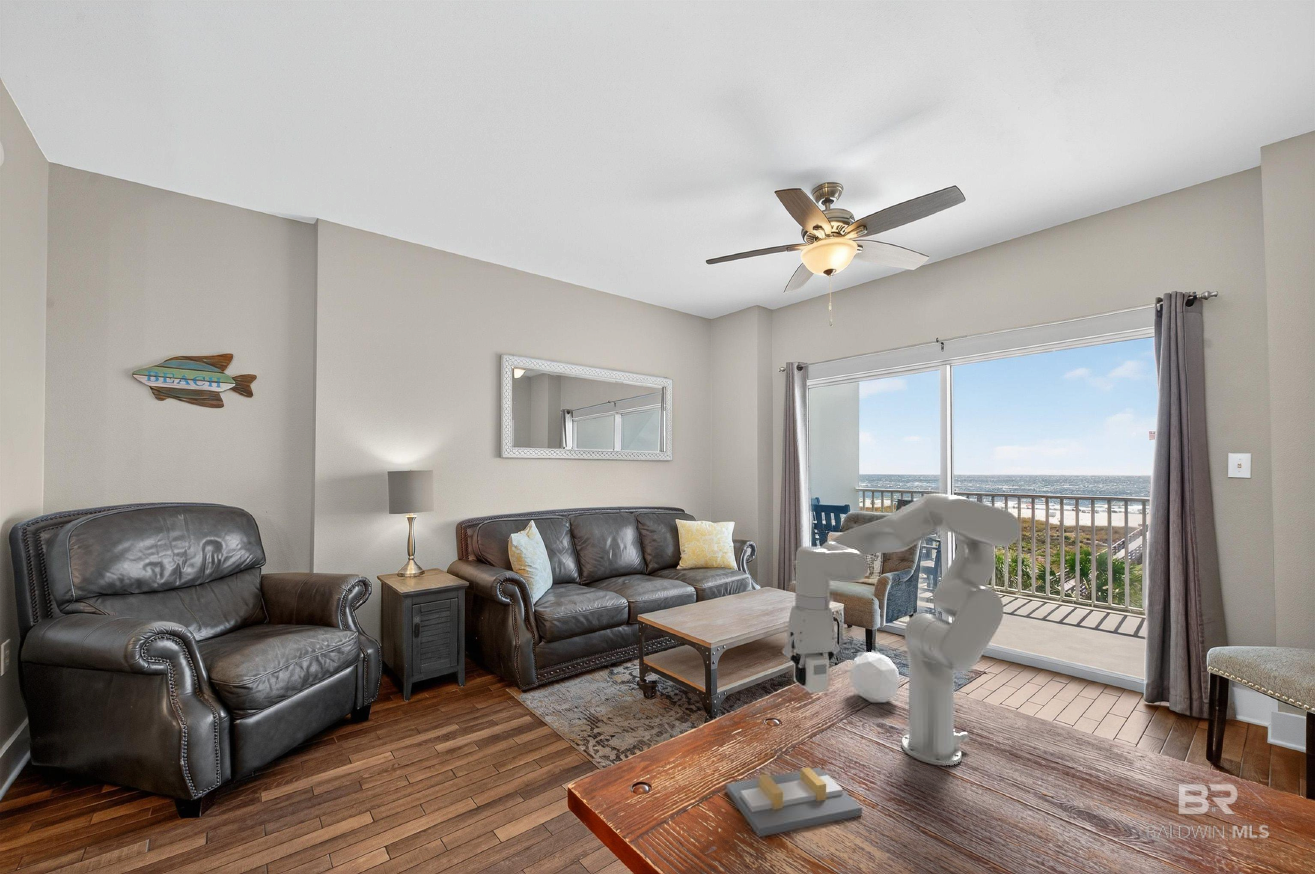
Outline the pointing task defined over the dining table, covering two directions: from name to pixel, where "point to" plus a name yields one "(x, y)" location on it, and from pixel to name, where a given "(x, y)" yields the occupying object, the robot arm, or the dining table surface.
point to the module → (816, 673)
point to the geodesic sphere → (874, 676)
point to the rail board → (791, 801)
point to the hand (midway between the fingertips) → (810, 681)
